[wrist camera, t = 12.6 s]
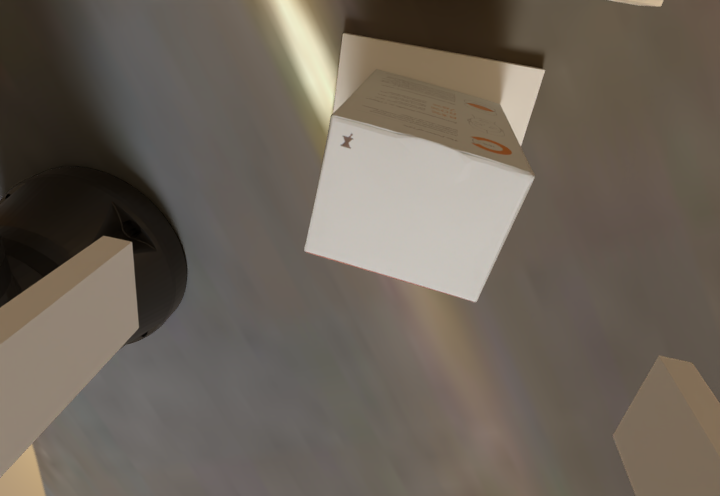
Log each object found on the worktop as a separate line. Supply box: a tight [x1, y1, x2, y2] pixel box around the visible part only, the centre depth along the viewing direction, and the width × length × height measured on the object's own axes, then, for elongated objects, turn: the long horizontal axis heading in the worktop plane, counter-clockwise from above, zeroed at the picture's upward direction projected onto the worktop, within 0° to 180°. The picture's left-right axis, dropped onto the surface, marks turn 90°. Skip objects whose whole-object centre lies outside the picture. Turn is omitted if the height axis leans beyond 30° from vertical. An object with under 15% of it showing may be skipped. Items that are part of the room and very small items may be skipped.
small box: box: [304, 69, 535, 302], centre depth 25 cm, size 8×6×13 cm
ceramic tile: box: [333, 33, 545, 146], centre depth 31 cm, size 12×10×1 cm
